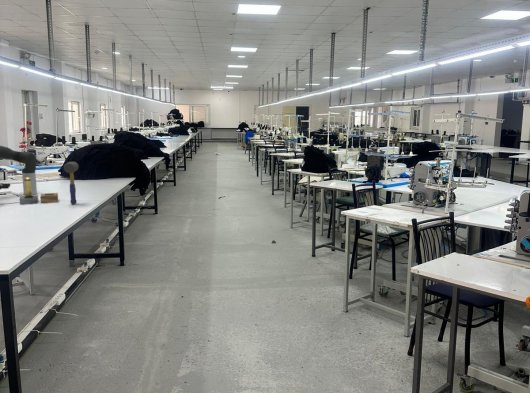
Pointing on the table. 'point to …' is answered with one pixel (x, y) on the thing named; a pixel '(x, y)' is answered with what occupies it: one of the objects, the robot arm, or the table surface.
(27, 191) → the brass peg
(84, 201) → the table surface
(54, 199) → the block
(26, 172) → the robot arm
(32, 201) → the socket block
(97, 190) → the table surface
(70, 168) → the rubber mallet
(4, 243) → the table surface
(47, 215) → the table surface
